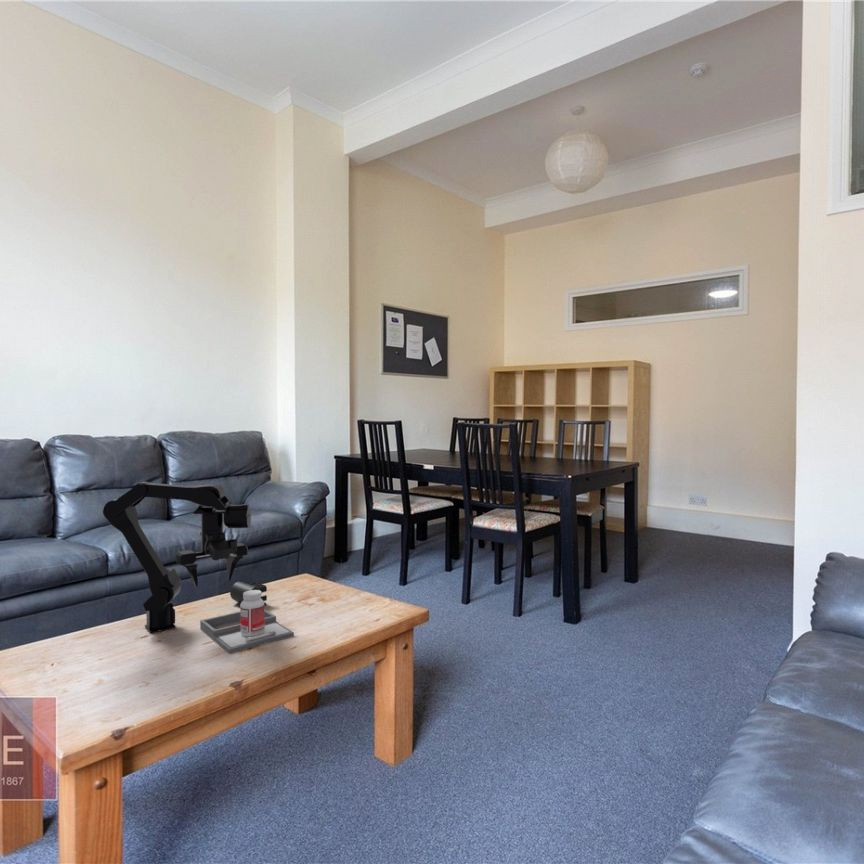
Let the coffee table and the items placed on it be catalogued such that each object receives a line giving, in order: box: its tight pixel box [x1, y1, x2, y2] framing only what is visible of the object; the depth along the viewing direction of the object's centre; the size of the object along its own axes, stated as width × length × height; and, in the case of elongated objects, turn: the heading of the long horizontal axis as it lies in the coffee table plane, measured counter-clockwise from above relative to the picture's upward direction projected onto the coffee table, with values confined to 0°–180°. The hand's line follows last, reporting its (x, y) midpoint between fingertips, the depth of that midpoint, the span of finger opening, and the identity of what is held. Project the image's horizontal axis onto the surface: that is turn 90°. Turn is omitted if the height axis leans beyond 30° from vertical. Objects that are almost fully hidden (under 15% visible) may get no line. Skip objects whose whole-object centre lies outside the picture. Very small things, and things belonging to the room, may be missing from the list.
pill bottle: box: [239, 590, 265, 637], centre depth 152 cm, size 6×6×11 cm
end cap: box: [229, 580, 268, 606], centre depth 179 cm, size 10×7×7 cm
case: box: [199, 608, 277, 641], centre depth 160 cm, size 18×11×3 cm, turn 131°
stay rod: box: [245, 631, 276, 642], centre depth 148 cm, size 8×1×1 cm, turn 131°
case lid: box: [213, 620, 295, 654], centre depth 151 cm, size 18×11×1 cm, turn 131°
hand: (212, 583), depth 161 cm, fingers open, 9 cm apart
